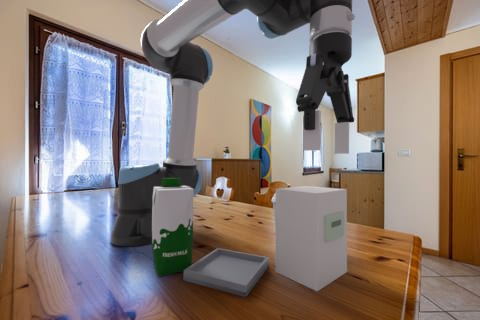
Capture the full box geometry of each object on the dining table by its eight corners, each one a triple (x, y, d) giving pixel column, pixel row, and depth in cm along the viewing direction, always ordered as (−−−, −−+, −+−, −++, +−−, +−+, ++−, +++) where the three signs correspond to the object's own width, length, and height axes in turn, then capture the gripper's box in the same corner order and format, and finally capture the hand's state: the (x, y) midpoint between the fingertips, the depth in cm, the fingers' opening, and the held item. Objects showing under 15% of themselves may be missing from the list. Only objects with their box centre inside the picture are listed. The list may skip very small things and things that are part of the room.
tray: (183, 280, 46) (183, 270, 46) (217, 255, 58) (217, 247, 58) (245, 297, 40) (245, 285, 40) (269, 266, 52) (269, 257, 52)
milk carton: (186, 256, 58) (187, 177, 58) (196, 271, 50) (197, 179, 50) (149, 262, 54) (150, 177, 54) (154, 280, 46) (155, 180, 46)
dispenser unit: (274, 271, 50) (274, 188, 50) (305, 257, 58) (305, 185, 58) (321, 293, 41) (320, 193, 42) (350, 273, 49) (350, 189, 49)
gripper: (320, -5, 32) (317, 147, 32) (370, 57, 50) (368, 154, 50) (275, 18, 37) (273, 149, 37) (335, 66, 55) (334, 154, 55)
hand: (328, 152), depth 43 cm, fingers open, 13 cm apart
